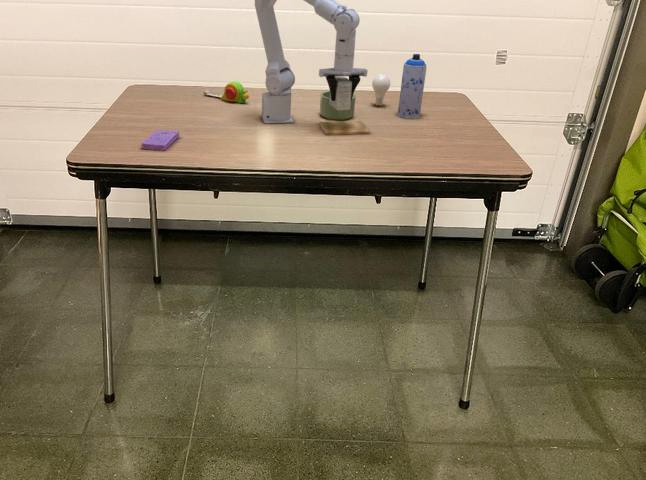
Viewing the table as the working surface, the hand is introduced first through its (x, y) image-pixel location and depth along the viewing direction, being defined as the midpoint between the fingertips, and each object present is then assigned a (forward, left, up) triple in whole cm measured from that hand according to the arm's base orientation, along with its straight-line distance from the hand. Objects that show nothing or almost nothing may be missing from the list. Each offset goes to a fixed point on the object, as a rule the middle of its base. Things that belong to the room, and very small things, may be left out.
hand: (341, 100), depth 188 cm
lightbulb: (+21, +26, -10) cm, 35 cm away
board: (+2, +1, -9) cm, 10 cm away
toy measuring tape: (-33, +37, -9) cm, 51 cm away
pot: (+3, +15, -9) cm, 18 cm away
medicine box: (0, +1, -3) cm, 3 cm away
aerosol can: (+28, +14, -10) cm, 32 cm away
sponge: (-55, -8, -10) cm, 57 cm away
